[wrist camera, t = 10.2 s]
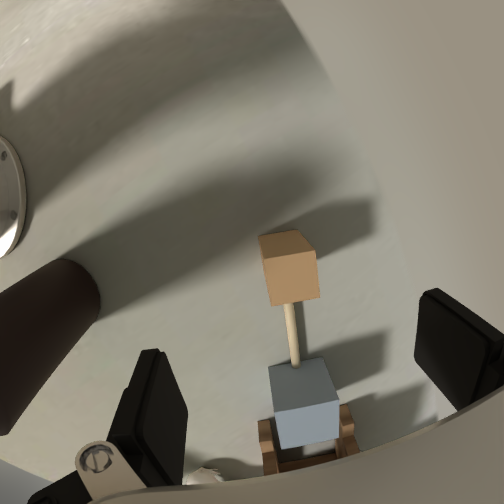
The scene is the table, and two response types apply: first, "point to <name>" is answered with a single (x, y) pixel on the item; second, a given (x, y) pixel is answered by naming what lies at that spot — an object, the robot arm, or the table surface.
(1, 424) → the bottle
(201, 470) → the white lumpy piece
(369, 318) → the table surface
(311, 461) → the wooden crate frame
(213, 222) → the table surface
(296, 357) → the block
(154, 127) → the table surface
